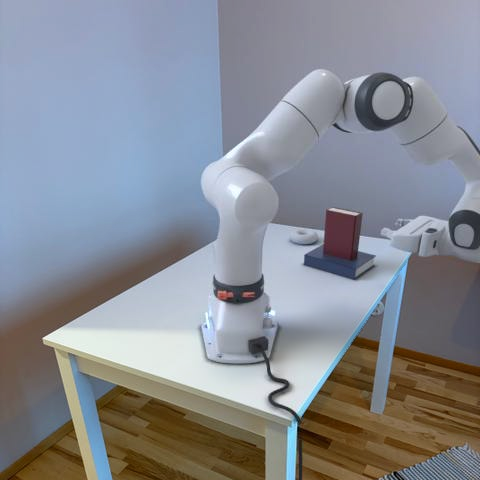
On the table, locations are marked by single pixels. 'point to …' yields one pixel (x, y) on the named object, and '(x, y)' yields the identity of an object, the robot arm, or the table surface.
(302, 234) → the donut
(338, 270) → the slate book
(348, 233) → the burgundy book
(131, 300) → the table surface
